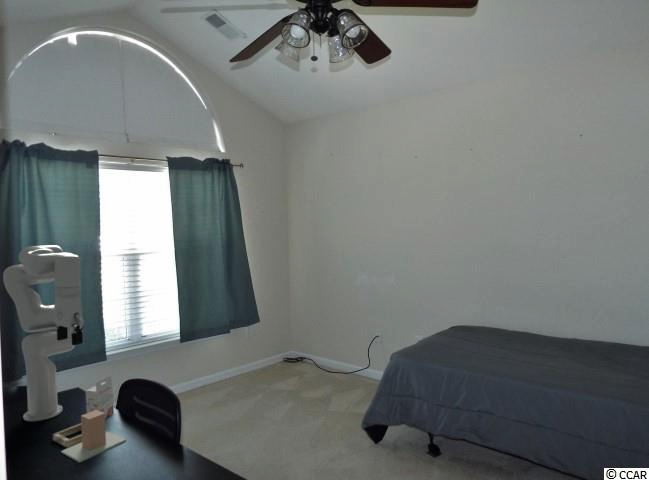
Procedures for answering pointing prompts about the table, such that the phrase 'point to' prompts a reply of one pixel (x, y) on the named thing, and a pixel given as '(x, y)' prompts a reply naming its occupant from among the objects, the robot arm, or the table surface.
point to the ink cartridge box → (100, 397)
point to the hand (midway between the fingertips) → (69, 341)
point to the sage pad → (82, 453)
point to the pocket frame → (61, 436)
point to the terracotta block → (93, 429)
